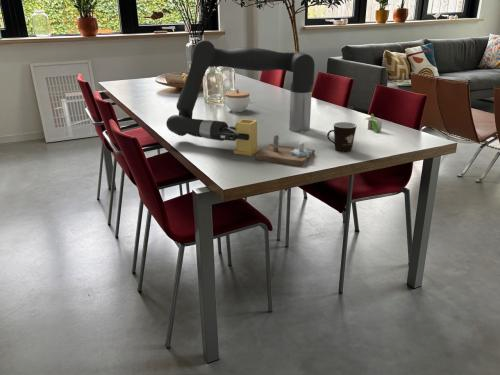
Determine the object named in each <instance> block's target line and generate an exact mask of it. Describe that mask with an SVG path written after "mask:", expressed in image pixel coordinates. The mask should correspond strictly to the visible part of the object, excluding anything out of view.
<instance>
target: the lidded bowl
mask: <svg viewBox="0 0 500 375" xmlns="http://www.w3.org/2000/svg"><path fill="white" fill-rule="evenodd" d="M224 95H225V103H226V106H227V108H228V109H229V110H230V112H234V113H241V112H245V110H246V109H247V108H248V107H249V104H250V95H251V94H250V92H249V91H245V90H244V91H243V90H239V89H238V88H237V89H235V90H233V91H232V90H230V91H227V92H225V94H224Z"/></svg>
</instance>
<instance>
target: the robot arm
mask: <svg viewBox="0 0 500 375" xmlns="http://www.w3.org/2000/svg"><path fill="white" fill-rule="evenodd" d="M191 52H192V53H191V58H192V59H191V63H190V66H189V67H190V68H189V71H188V74H187V76H186V79H185V81H184V84H183V87H182V89H181V90H180V91H181V92H180V94H179V96H178V99H177V102H176V106H175V107H176V109H177V110H178V114H174V115H171V116H169V117H168V118H167V120H166V124H165V125H166V127H167V129H168V130H169V131H170V132H171V133H173V134H176V135H177V136H179V137H184V136H186V135H189V136H192V137H196V138H201V139H202V138H203V139H206V140H213V141H220V142H223V141H231V142H232V141H233V142H236V140H239V139H242V140H249V134H243V133H240V134H239V133H237V132H236V124H235V125H230V126H229V125H228V123H227V122H226V121H222V120H221V121H220V120H212V119H199V118H193V114H194V113H193V112H194V109H195V106H196V103H197V100H198V97H199V94H200V91H201V87H202V84H203V83H202V82H203V81H204V76H206V73H207V69H208V68H210V67H211V68H212V67H213V68H217V67H218V68H221V67H222V68H223V67H224V68H231V69H236V70H237V69H238V70H245V71H255V72H265V71H266V72H267V71H274V70H277V71H278V70H279V71H286V72H291V73H292V82H291V83H290V96H289V98H290V100H289V103H290V104H289V127H288V128H289V131H292V132H296V133H299V132H301V133H302V132H308V131H310V128H311V112H312V91H313V86H314V83H315V82H314V81H315V80H314V79H315V68H316V67H315V66H316V65H315V60H314V58H313V57H312V56H311V55H309V54H307V53H305V52H303V51H301V52H299V51H298V52H279V51H276V50H272V49H265V48H258V47H249V46H248V47H247V46H246V47H237V48H229V49H228V48H227V49H225V48H218V47H215V45H214V44H213V43H212V42H211V41H210V40H206V39H203V40H199V41H198V42H196V43H195V45H194V46H193V49H192V51H191Z"/></svg>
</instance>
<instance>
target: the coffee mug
mask: <svg viewBox="0 0 500 375" xmlns="http://www.w3.org/2000/svg"><path fill="white" fill-rule="evenodd" d="M356 131H357V124H356V123H354V122H353V123H352V122H348V121H347V122H346V121H340V122H334V123H333V129H330V130H329V131H328V132H327V135H326V137H327V140H329V142H331V143H332V144H334V151H336V152H338V153H350V152H352V149H353V144H354V141H355V140H354V139H355V134H356ZM331 133H333V137H334V140H332V139H331V138H330V134H331Z"/></svg>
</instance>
